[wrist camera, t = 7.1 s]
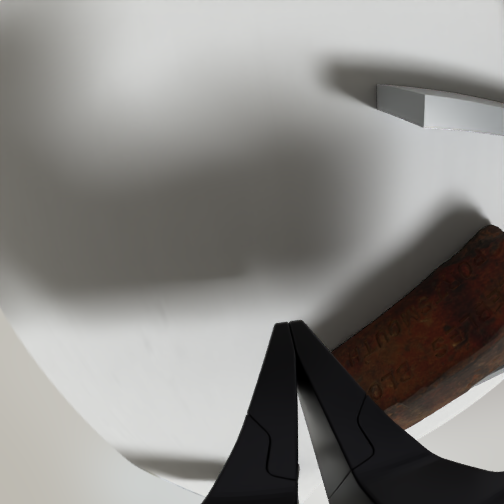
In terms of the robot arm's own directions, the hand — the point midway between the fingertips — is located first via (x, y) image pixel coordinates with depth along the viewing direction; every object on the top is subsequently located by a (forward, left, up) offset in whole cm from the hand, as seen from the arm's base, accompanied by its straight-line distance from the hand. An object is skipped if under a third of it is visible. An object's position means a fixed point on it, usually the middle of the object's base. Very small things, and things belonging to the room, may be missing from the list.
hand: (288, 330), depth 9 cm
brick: (-3, -7, -3) cm, 8 cm away
